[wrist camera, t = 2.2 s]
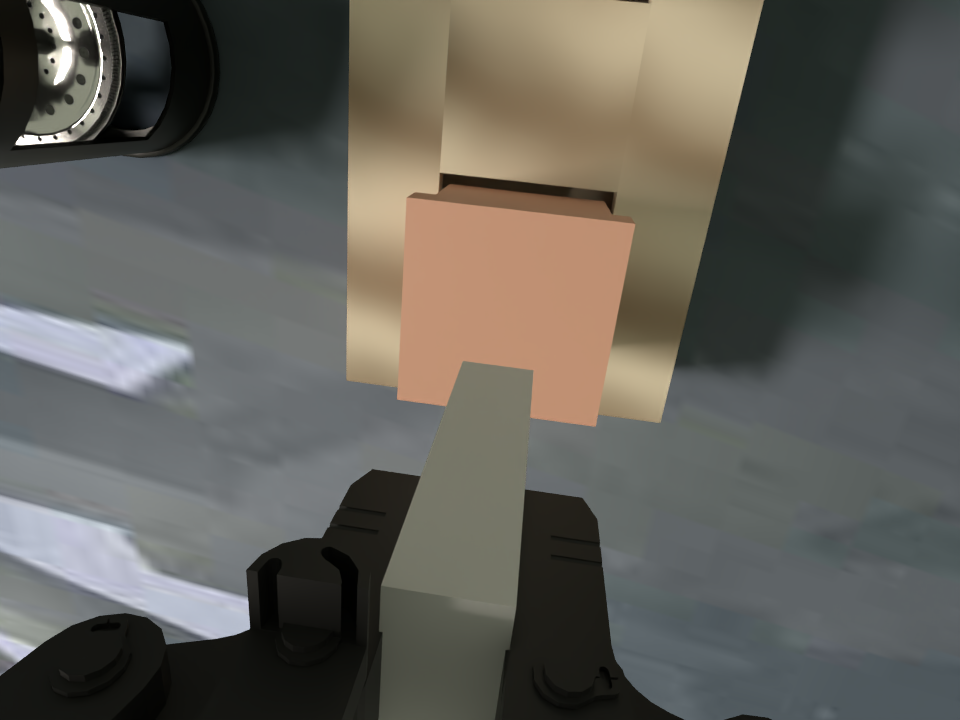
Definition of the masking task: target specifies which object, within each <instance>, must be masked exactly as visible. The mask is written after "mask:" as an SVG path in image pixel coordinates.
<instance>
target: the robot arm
mask: <svg viewBox="0 0 960 720" xmlns="http://www.w3.org/2000/svg"><path fill="white" fill-rule="evenodd" d="M533 372H534V370H527V369H520V368H512V367H505V366H497V365H490V364H482V363H475V362H467V361H463V362H462V365H461V368H460V370H459V373H458V376H457V379H456V381H455V384H454V387H453V389H452V392H451V395H450V398H449V400H448V403H447V406H446V409H445V411H444V414H443V417H442V420H441V422H440V425H439V428H438V431H437V433H436V436H435V439H434V442H433V444H432V447H431V450H430V453H429V455H428V458H427V461H426V464H425V466H424V469H423V472H422V474H421V476H415V475H408V474H401V473H394V472H387V471H381V470H374V469H372V470H371V471H370V472H368V473H367V474H365V475H364V476H363V477H361V478H360V479H359V480H357V481H356V482H354V483H353V484H352V485H351V486H350V488H349V490H348V492H347V493H346V495H345V497H344V499H343V501H342V503H341V504H340V508H339V510H337V512H336V514H335V515H334V517H333V519H332V521H331V523H330V527H329V528H327V530H326V532H325V534H324V536H323V537H322V538H304V539H300V540H295V541H291V542H287V543H282V544H280V545H279V546H277V547H275V548H273V549H271V550H269V551H267V552H265V553H263V554H261V556H260V557H259V558H258V559H257V560H256V561H255V562H254V563H253V564H252V565H251V566H250V567H249V568H248V569H247V570H246V572H247V587H248V601H249V616H250V630H247V631H245V632H242V633H239V634H237V635H233V636H228V637H223V638H218V639H212V640H203V641H194V642H185V643H176V644H168V645H166V643H165V639H164V636H163V633H162V629H161V628H160V627H158V626H157V625H156V624H155V623H153V622H152V621H151V620H149V619H148V618H146V617H141V616H136V615H132V614H127V613H124V614H114V615H104V616H98V617H95V618H92V619H89V620H86V621H84V622H81V623H78V624H75V625H72V626H70V627H69V628H67V629H65V630H64V631H62V632H60V633H59V634H57V635H55V636H54V637H52V638H50V639H49V640H47V641H45V642H44V643H43V644H41V645H40V646H39V647H38V648H36V649H35V650H34V651H32V652H31V653H30V654H28V655H27V656H26V657H24V658H23V659H22V660H20V661H19V662H18V663H17V664H15V665H14V666H13V667H11V668H10V669H9V670H7V671H6V672H5V673H3V674H2V675H1V676H0V720H684V719H682V718H679V717H677V716H675V715H673V714H671V713H669V712H667V711H665V710H664V709H662V708H660V707H659V706H657V705H655V704H653V703H652V702H650V701H649V700H648V699H647V698H645V697H644V696H643V695H642V694H641V693H639V692H638V691H637V690H636V689H635V688H634V687H633V686H632V684H631V683H630V682H629V681H628V680H627V678H626V677H625V676H624V673H623V670H622V669H621V667H620V666H619V665H618V664H617V662H616V660H615V657H614V653H613V650H612V646H611V638H610V629H609V620H608V611H607V602H606V593H605V584H604V575H603V567H602V557H601V548H600V547H599V546H600V539H599V530H598V521H597V518H596V517H595V515H594V514H593V513H592V511H591V510H590V508H589V507H588V505H587V504H586V502H585V501H584V500H583V498H579V497H572V496H565V495H559V494H552V493H545V492H538V491H531V490H525V481H526V467H527V453H528V440H529V426H530V413H531V399H532V385H533ZM726 720H772V719H769V718H765V717H758V716H750V715H740V716H736V717H733V718H729V719H726Z"/></svg>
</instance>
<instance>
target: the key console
mask: <svg viewBox="0 0 960 720" xmlns="http://www.w3.org/2000/svg"><path fill="white" fill-rule="evenodd" d="M763 2H764V0H350V14H349V136H348V259H347V381H355V382H362V383H369V384H377V385H384V386H392V387H398V373H399V351H400V329H401V307H402V286H403V264H404V242H405V220H406V199H407V197H408V196H410V195H411V194H413V193H415V192H418V193H427V194H437V193H438V192H440V191H441V190H442V189H444V188H445V187H446V186H448V185H449V184H456V185H465V186H474V187H482V188H491V189H500V190H509V191H518V192H527V193H535V194H544V195H553V196H562V197H571V198H579V199H588V200H597V201H604V202H605V203H606V205H607V207H608V208H609V210H610V212H611V214H612V215H619V216H628V217H631V218H632V220H633V221H634V222H635V229H634V234H633V239H632V244H631V249H630V254H629V259H628V264H627V269H626V275H625V280H624V285H623V290H622V295H621V300H620V305H619V310H618V315H617V320H616V325H615V330H614V335H613V340H612V346H611V351H610V356H609V361H608V366H607V371H606V376H605V381H604V386H603V391H602V396H601V401H600V406H599V411H598V415H606V416H613V417H620V418H628V419H635V420H642V421H650V422H657V423H660V422H661V418H662V413H663V409H664V405H665V401H666V397H667V393H668V389H669V385H670V381H671V377H672V373H673V369H674V365H675V361H676V356H677V352H678V348H679V344H680V340H681V336H682V332H683V328H684V324H685V320H686V316H687V312H688V308H689V304H690V299H691V295H692V291H693V287H694V283H695V279H696V275H697V271H698V267H699V263H700V259H701V255H702V251H703V246H704V242H705V238H706V234H707V230H708V226H709V222H710V218H711V214H712V210H713V206H714V202H715V198H716V194H717V189H718V185H719V181H720V177H721V173H722V169H723V165H724V161H725V157H726V153H727V149H728V145H729V141H730V136H731V132H732V128H733V124H734V120H735V116H736V112H737V108H738V104H739V100H740V96H741V92H742V88H743V84H744V79H745V75H746V71H747V67H748V63H749V59H750V55H751V51H752V47H753V43H754V39H755V35H756V31H757V27H758V22H759V18H760V14H761V10H762V6H763Z"/></svg>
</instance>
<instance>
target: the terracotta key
mask: <svg viewBox="0 0 960 720" xmlns="http://www.w3.org/2000/svg"><path fill="white" fill-rule="evenodd" d="M634 229H635V222H634V221H633V220H632V218H631V217H628V216H619V215H612V214H611V212H610V210H609V208H608V207H607V205H606V203H605V202H604V201H597V200H588V199H579V198H571V197H562V196H553V195H544V194H535V193H527V192H518V191H509V190H500V189H491V188H482V187H474V186H465V185H456V184H449V185H448V186H446V187H445V188H444V189H442V190H441V191H440V192H438V193H437V194H427V193H418V192H415V193H413V194H411V195H410V196H408V197H407V199H406V220H405V242H404V264H403V286H402V307H401V329H400V351H399V373H398V395H397V400H405V401H412V402H419V403H427V404H434V405H441V406H447V403H448V400H449V398H450V395H451V392H452V389H453V387H454V384H455V381H456V379H457V376H458V373H459V370H460V368H461V365H462V362H463V361H467V362H475V363H482V364H490V365H497V366H505V367H512V368H520V369H527V370H534V372H533V385H532V399H531V413H530V418H536V419H543V420H551V421H558V422H565V423H573V424H580V425H587V426H595V427H596V422H597V417H598V411H599V406H600V401H601V396H602V391H603V386H604V381H605V376H606V371H607V366H608V361H609V356H610V351H611V346H612V340H613V335H614V330H615V325H616V320H617V315H618V310H619V305H620V300H621V295H622V290H623V285H624V280H625V275H626V269H627V264H628V259H629V254H630V249H631V244H632V239H633V234H634Z"/></svg>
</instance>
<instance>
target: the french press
mask: <svg viewBox="0 0 960 720" xmlns="http://www.w3.org/2000/svg"><path fill="white" fill-rule="evenodd" d="M117 12H121V13H126V14H130V15H134V16H139V17H143V18H148V19H152V20H157V21H161V22H164V26H165V30H166V33H167V37H168V41H169V45H170V56H171V67H172V69H171V81H170V90H169V94H168V97H167V101H166V104H165V108H164V110H163V111H162V113H161V115H160V117H159V119H158V121H157V123H156V124H155V125H154V126H153V127H150V128H147V129H145V130H136V131H135V130H127V129H122V128H119V127H116V126H113V125H110V123H111V121H112V120H113V118H114V116H115V114H116V112H117V109H118V107H119V105H120V102H121V98H122V94H123V90H124V86H125V76H126V53H125V42H124V37H123V32H122V28H121V23H120V20H119V17H118V14H117ZM219 76H220V70H219V54H218V48H217V44H216V40H215V35H214V31H213V28H212V26H211V23H210V21H209V18H208V16H207V13H206V11H205V8H204V6H203V5H202V3H201V1H200V0H0V168H9V167H18V166H27V165H36V164H46V163H55V162H64V161H73V160H83V159H92V158H101V157H110V156H120V155H122V156H129V157H137V158H146V157H155V156H162V155H165V154H168V153H171V152H174V151H176V150H178V149H180V148H181V147H183V146H184V145H186V144H187V143H189V142H190V141H191V140H192V139H193V138H194V137H195V136H196V135H197V134H198V133H199V132H200V131H201V130H202V128H203V127H204V125H205V123H206V122H207V120H208V118H209V116H210V115H211V113H212V110H213V107H214V104H215V100H216V97H217V94H218V85H219Z"/></svg>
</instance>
